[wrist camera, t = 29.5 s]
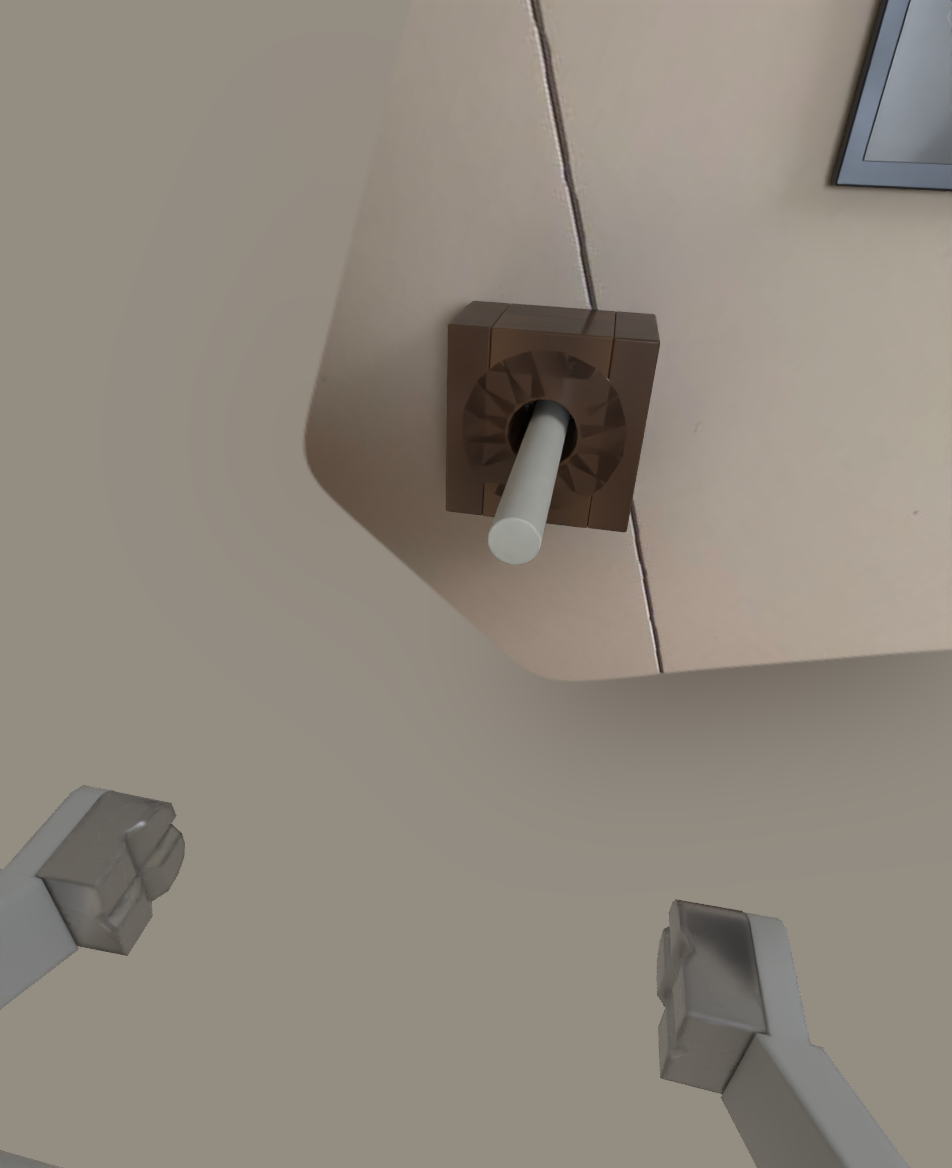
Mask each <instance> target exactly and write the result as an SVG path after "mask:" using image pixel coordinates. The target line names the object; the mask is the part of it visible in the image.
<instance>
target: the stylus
mask: <svg viewBox="0 0 952 1168" xmlns="http://www.w3.org/2000/svg"><path fill="white" fill-rule="evenodd" d="M569 418H570V413H569V412H568V411H567V409H566V408H565V407H563V406H562V405H560V404H558V403H556V402H554V401H547V400H537V403H536V406H535V408H534V411H533V414H532V417H531V419H530V422H529V425H528V427H527V430H526V433H525V435H524V438H523V441H522V444H521V446H520V449H519V452H518V454H517V457H516V460H515V462H514V465H513V468H512V471H511V473H510V476H509V479H508V481H507V484H506V487H505V489H504V492H503V495H502V498H501V500H500V503H499V506H498V508H497V511H496V514H495V516H494V519H493V522H492V525H491V527H490V530H489V533H488V545H489V548H490V550H491V552H492V553H493V554H494V556H495V557H496V558H498V559H499V560H501V561H502V562H505V563H508V564H512V565H519V564H524V563H527V562H529V561H531V560H532V559H533V558H534V557H535V556H536V555H537V554H538V552H539V550H540V547H541V542H542V538H543V533H544V529H545V524H546V520H547V515H548V511H549V507H550V502H551V498H552V493H553V489H554V484H555V480H556V475H557V471H558V467H559V462H560V458H561V453H562V449H563V444H564V440H565V435H566V431H567V426H568V422H569Z"/></svg>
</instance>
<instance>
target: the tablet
mask: <svg viewBox="0 0 952 1168" xmlns="http://www.w3.org/2000/svg"><path fill="white" fill-rule="evenodd" d="M830 184H831V185H835V186H853V187H874V188H896V189H917V190H938V191H952V0H881V1H880V5H879V8H878V12H877V16H876V19H875V23H874V27H873V30H872V34H871V37H870V41H869V45H868V48H867V52H866V55H865V59H864V63H863V66H862V70H861V74H860V77H859V81H858V84H857V88H856V92H855V95H854V99H853V102H852V106H851V110H850V113H849V117H848V121H847V124H846V128H845V131H844V135H843V139H842V142H841V146H840V149H839V153H838V157H837V160H836V164H835V168H834V171H833V175H832V178H831V182H830Z"/></svg>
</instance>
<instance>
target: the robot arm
mask: <svg viewBox="0 0 952 1168" xmlns="http://www.w3.org/2000/svg"><path fill="white" fill-rule="evenodd" d="M175 817H176V814H175V811H174V809H173V806H172V804H171V803H169V802H164V801H159V800H154V799H149V798H144V797H139V796H133V795H129V794H124V793H119V792H115V791H111V790H106V789H101V788H95V787H90V786H84V785H83V786H81V787H80V788H78V789H76V790H75V791H73V792H72V793H71V794H70V795H69V796H68V797H67V798H66V799H65V800H64V802H63V803H62V804H61V805H60V806H59V807H58V809H57V810H56V811H55V812H54V813H53V814H52V815H51V816H50V818H49V819H48V820H47V821H46V822H45V823H44V824H43V825H42V827H41V828H40V829H39V830H38V831H37V832H36V833H35V834H34V836H33V837H32V838H31V839H30V840H29V841H28V842H27V844H26V845H25V846H24V847H23V848H22V849H21V850H20V852H19V853H18V854H17V855H16V856H15V857H14V858H13V859H12V861H11V862H10V863H9V864H8V865H7V866H6V867H5V868H4V870H1V869H0V1009H1V1008H3V1007H4V1006H5V1005H7V1004H8V1003H9V1002H11V1001H12V1000H13V999H14V998H16V997H17V996H18V995H20V994H21V993H22V992H24V991H25V990H26V989H28V988H29V987H30V986H31V985H33V984H34V983H35V982H37V981H38V980H39V979H41V978H42V977H43V976H44V975H46V974H47V973H48V972H50V971H51V970H52V969H54V968H55V967H56V966H57V965H59V964H60V963H61V962H63V961H64V960H65V959H67V958H68V957H69V956H71V955H72V954H73V953H74V952H76V951H77V950H78V947H77V946H80V947H86V948H91V949H96V950H101V951H106V952H111V953H116V954H121V955H126V956H127V955H128V954H129V952H130V951H131V949H132V948H133V946H134V944H135V943H136V941H137V940H138V938H139V937H140V935H141V933H142V932H143V930H144V929H145V927H146V925H147V924H148V922H149V921H150V919H151V918H152V901H153V900H155V899H156V898H158V897H159V896H161V895H162V894H164V893H165V892H167V891H168V890H169V889H170V887H171V885H172V884H173V882H174V880H175V879H176V877H177V875H178V873H179V870H180V867H181V864H182V861H183V858H184V849H185V843H184V839H183V836H182V833H181V832H180V831H179V830H178V829H177V828H176V827H174V826H173V825H172V824H171V823H172V822H173V820H174V819H175ZM669 922H670V926H669V927H667V928H665V929H664V930H663V933H662V936H661V940H660V944H659V952H658V958H657V995H658V997H659V998H660V1000H661V1002H662V1003H663V1005H664V1006H665V1010H664V1013H663V1015H662V1018H661V1021H660V1024H659V1027H658V1032H659V1033H658V1034H659V1058H660V1078H662V1079H666V1080H669V1081H674V1082H677V1083H681V1084H685V1085H689V1086H693V1087H697V1088H701V1089H704V1090H708V1091H712V1092H716V1093H720V1094H723V1095H722V1097H721V1098H722V1100H723V1102H724V1104H725V1106H726V1108H727V1110H728V1112H729V1114H730V1116H731V1118H732V1120H733V1122H734V1124H735V1125H736V1127H737V1129H738V1131H739V1133H740V1135H741V1137H742V1139H743V1141H744V1143H745V1145H746V1147H747V1149H748V1151H749V1153H750V1155H751V1157H752V1159H753V1160H754V1162H755V1164H756V1166H757V1168H910V1167H909V1166H908V1164H907V1163H906V1161H905V1160H904V1159H903V1157H902V1156H901V1155H900V1153H899V1152H898V1150H897V1149H896V1148H895V1146H894V1145H893V1144H892V1142H891V1141H890V1140H889V1138H888V1137H887V1135H886V1134H885V1133H884V1131H883V1130H882V1129H881V1127H880V1126H879V1124H878V1123H877V1122H876V1120H875V1119H874V1118H873V1116H872V1115H871V1114H870V1112H869V1111H868V1109H867V1108H866V1107H865V1105H864V1104H863V1103H862V1101H861V1100H860V1099H859V1097H858V1096H857V1094H856V1093H855V1092H854V1090H853V1089H852V1088H851V1086H850V1085H849V1083H848V1082H847V1081H846V1079H845V1078H844V1077H843V1075H842V1074H841V1073H840V1071H839V1070H838V1068H837V1067H836V1066H835V1064H834V1063H833V1062H832V1060H831V1059H830V1058H829V1056H828V1055H827V1053H826V1052H825V1051H824V1049H823V1048H822V1047H819V1046H815V1045H811V1044H810V1039H809V1034H808V1029H807V1024H806V1020H805V1015H804V1010H803V1005H802V1001H801V996H800V991H799V986H798V981H797V976H796V972H795V967H794V962H793V958H792V953H791V948H790V943H789V938H788V933H787V929H786V927H785V926H784V924H783V922H782V921H781V920H780V919H778V918H773V917H767V916H761V915H756V914H749V913H744V912H743V911H739V910H732V909H727V908H722V907H716V906H710V905H704V904H699V903H693V902H687V901H682V900H675V901H674V902H673V903H672V905H671V908H670V911H669ZM0 1168H61V1167H58V1166H54V1165H51V1164H47V1163H44V1162H40V1161H37V1160H33V1159H29V1158H26V1157H22V1156H19V1155H15V1154H12V1153H8V1152H5V1151H1V1150H0Z"/></svg>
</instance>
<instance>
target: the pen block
mask: <svg viewBox="0 0 952 1168" xmlns="http://www.w3.org/2000/svg"><path fill="white" fill-rule="evenodd" d="M659 347H660V339H659V333H658V327H657V321H656V316H655V315H654V314H640V313H627V312H614V311H601V310H587V309H574V308H561V307H547V306H534V305H520V304H506V303H493V302H479V301H473V302H472V303H471V304H470V305H469V306H468V307H467V308H466V309H464V310H463V311H462V312H461V313H460V314H459V315H458V316H457V317H456V318H455V319H454V320H453V321H452V322H451V323H450V324H449V325H448V369H447V449H446V511H450V512H459V513H467V514H475V515H482V514H483V516H490V517H494V516H495V514H496V511H497V508H498V506H499V503H500V500H501V498H502V495H503V492H504V489H505V487H506V484H507V481H508V479H509V476H510V473H511V471H512V468H513V465H514V462H515V460H516V457H517V454H518V452H519V449H520V446H521V444H522V441H523V438H524V435H525V433H526V430H527V427H528V425H529V422H530V419H531V417H530V416H529V415H528V413H527V411H526V408H525V404H526V403H529V402H533V401H536V400H547V401H554V402H556V403H558V404H560V405H562V406H563V407H565V408H566V409H567V411H568V412H569V413H570V414H571V415H572V417H573V418H574V420H573V421H572V422H571V423H569V424H568V426H567V431H566V435H565V440H564V444H563V449H562V453H561V458H560V462H559V467H558V471H557V475H556V480H555V484H554V489H553V493H552V498H551V502H550V507H549V511H548V515H547V520H546V523H548V524H557V525H565V526H573V527H582V528H587V527H588V528H593V529H601V530H610V531H618V532H626V531H627V527H628V521H629V515H630V510H631V504H632V498H633V493H634V487H635V482H636V476H637V470H638V465H639V459H640V454H641V448H642V442H643V437H644V431H645V426H646V420H647V414H648V409H649V403H650V397H651V392H652V386H653V381H654V375H655V369H656V364H657V358H658V353H659Z"/></svg>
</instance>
